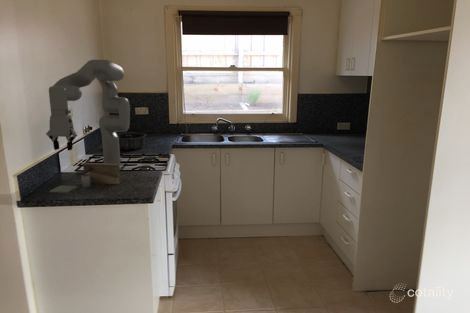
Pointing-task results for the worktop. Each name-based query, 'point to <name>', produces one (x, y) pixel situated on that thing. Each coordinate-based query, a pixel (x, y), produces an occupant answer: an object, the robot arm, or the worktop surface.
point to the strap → (84, 171)
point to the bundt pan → (131, 140)
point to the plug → (86, 179)
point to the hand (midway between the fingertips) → (63, 149)
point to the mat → (63, 189)
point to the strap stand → (103, 173)
